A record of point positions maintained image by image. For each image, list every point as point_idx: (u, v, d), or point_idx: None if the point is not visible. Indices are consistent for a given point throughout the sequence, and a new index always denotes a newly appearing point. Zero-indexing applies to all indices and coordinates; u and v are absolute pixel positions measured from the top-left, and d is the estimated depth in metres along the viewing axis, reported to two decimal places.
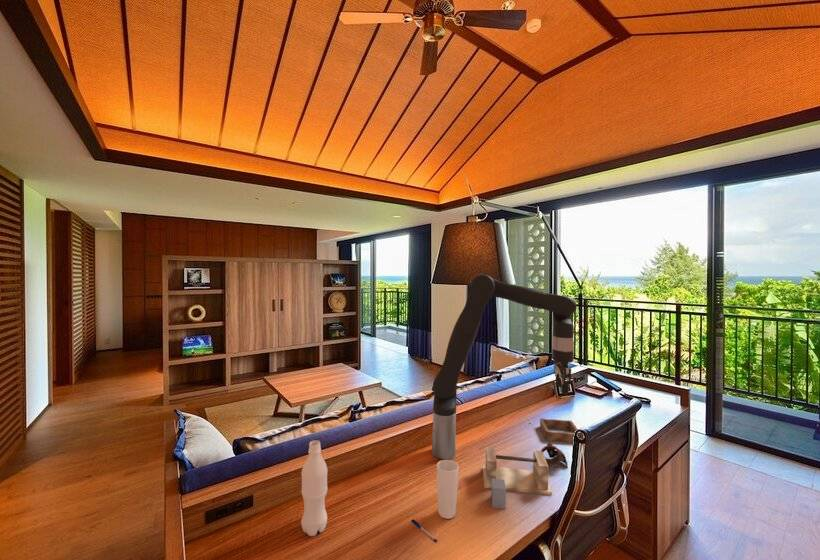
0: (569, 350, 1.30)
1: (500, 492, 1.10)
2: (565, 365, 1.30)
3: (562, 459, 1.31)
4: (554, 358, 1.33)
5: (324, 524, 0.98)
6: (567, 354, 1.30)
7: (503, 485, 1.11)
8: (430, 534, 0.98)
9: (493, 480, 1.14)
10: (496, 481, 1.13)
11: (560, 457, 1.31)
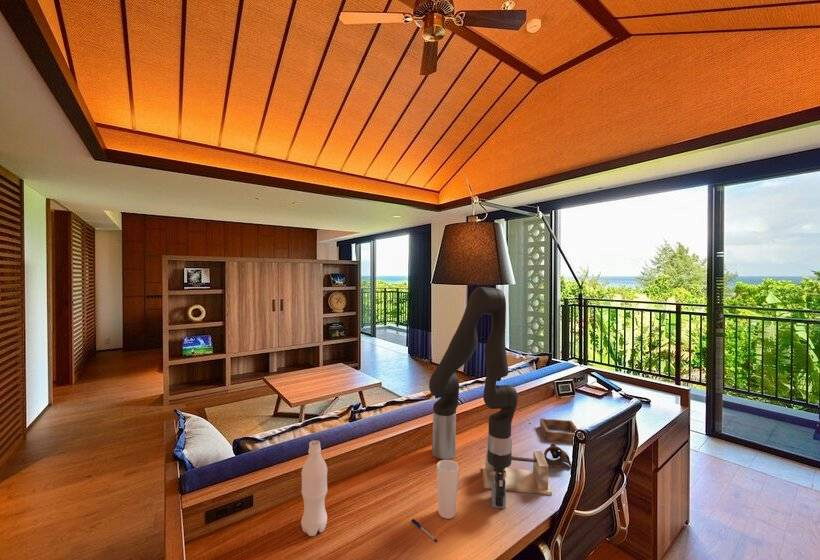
0: (505, 453, 1.08)
1: None
2: (500, 471, 1.08)
3: (566, 460, 1.30)
4: (488, 461, 1.11)
5: (324, 524, 0.98)
6: (502, 458, 1.08)
7: None
8: (430, 534, 0.98)
9: (493, 480, 1.14)
10: None
11: (564, 458, 1.30)
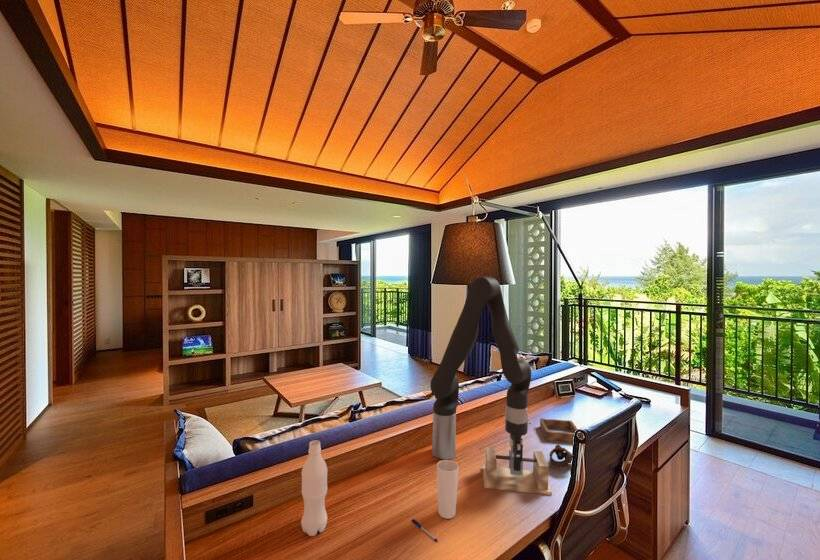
0: (522, 422, 1.20)
1: None
2: (517, 438, 1.20)
3: None
4: (506, 429, 1.23)
5: (324, 524, 0.98)
6: (520, 426, 1.20)
7: None
8: (430, 534, 0.98)
9: (510, 451, 1.26)
10: None
11: (570, 459, 1.30)
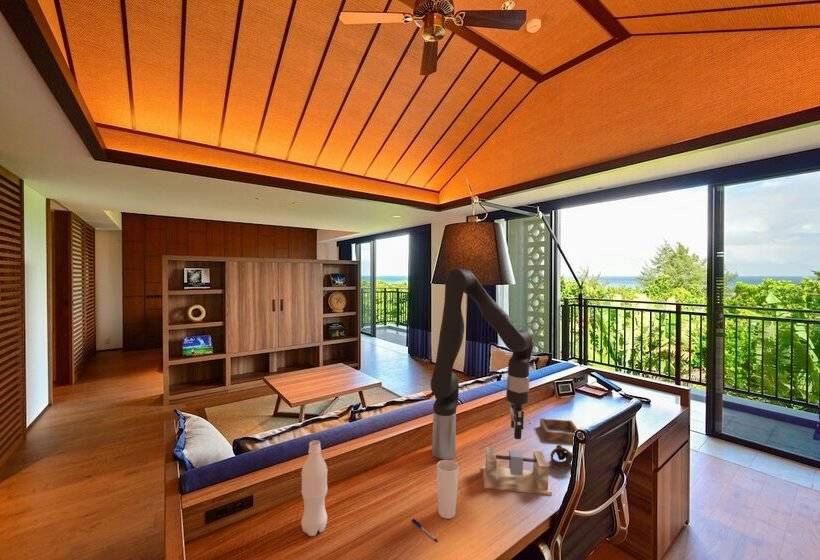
0: (523, 391, 1.19)
1: (517, 460, 1.21)
2: (518, 407, 1.20)
3: None
4: (507, 398, 1.22)
5: (324, 524, 0.98)
6: (521, 395, 1.19)
7: (520, 454, 1.23)
8: (430, 534, 0.98)
9: (510, 451, 1.26)
10: (513, 452, 1.25)
11: (571, 459, 1.29)
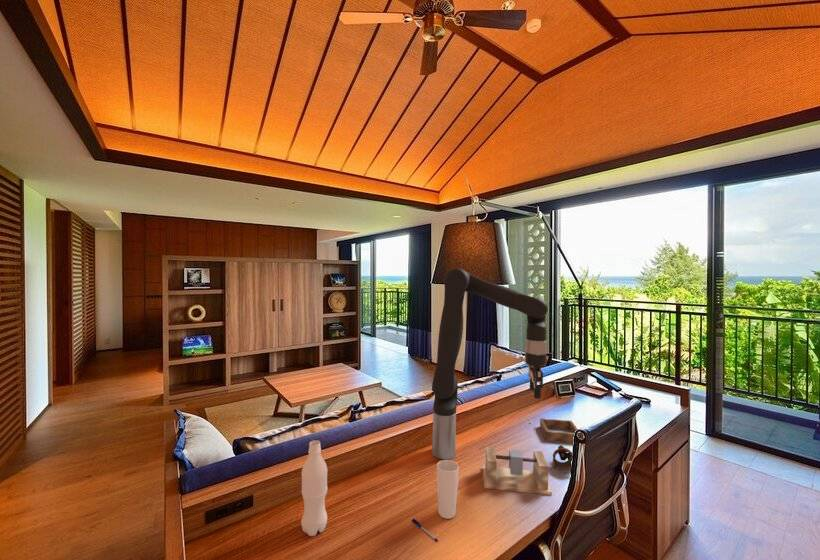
0: (541, 353, 1.28)
1: (517, 460, 1.21)
2: (537, 368, 1.28)
3: None
4: (527, 361, 1.31)
5: (324, 524, 0.98)
6: (539, 357, 1.28)
7: (520, 455, 1.23)
8: (431, 534, 0.98)
9: (510, 451, 1.26)
10: (513, 451, 1.25)
11: None
